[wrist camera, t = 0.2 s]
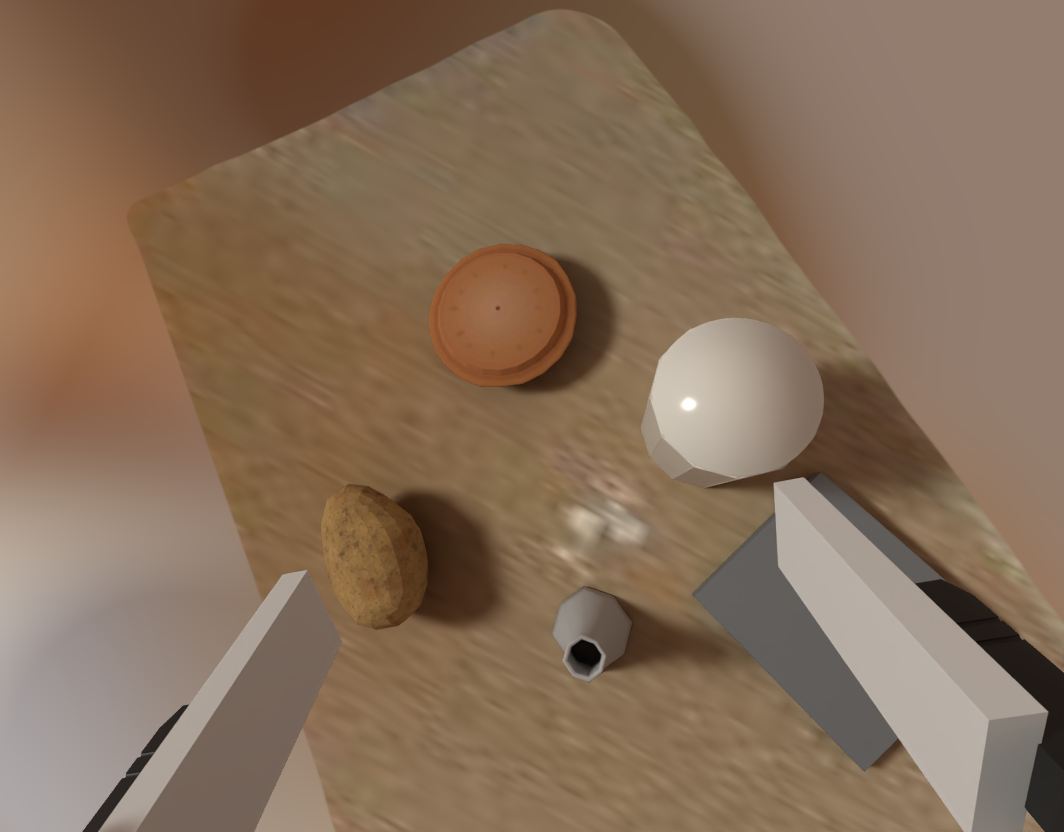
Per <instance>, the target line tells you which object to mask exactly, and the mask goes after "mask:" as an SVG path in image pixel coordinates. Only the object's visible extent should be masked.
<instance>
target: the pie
mask: <svg viewBox="0 0 1064 832" xmlns="http://www.w3.org/2000/svg"><path fill="white" fill-rule="evenodd" d="M576 320H577V305H576V295H575V292H574V290H573V288H572V285H571V283H570V280H569V278H568V276H567V275H566V273H565V272H564V270H563V269H562V267H561V266H560V265H559V263H558V262H557V260H555V259H553V258H552V257H550V256H548V255H547V254H545V253H543V252H542V251H540V250H537V249H533V248H530V247H526V246H523V245H511V244H498V245H494V246H489V247H485V248H481V249H479V250H477V251H475V252H473V253H471V254H470V255H468V256H466V257H464V258H463V259H461V260H460V261H459V262H458V263H457V264H456V265H455V266H454V267H453V268H452V269H451V270H450V271H449V272H448V273H447V275H446V276H445V277H444V279H443V280H442V282H441V283H440V285H439V286H438V288H437V289H436V291H435V294H434V297H433V301H432V304H431V308H430V333H431V337H432V341H433V345H434V349H435V350H436V352H437V353H438V355H439V356H440V358H441V359H442V361H443V362H444V364H445V365H446V366H447V367H448V368H449V369H450V370H452V371H453V372H454V373H455V374H456V375H457V376H459V377H460V378H461V379H463V380H465V381H468V382H470V383H473V384H475V385H478V386H480V387H503V386H510V385H517V384H524V383H526V382H528V381H530V380H532V379H534V378H536V377H537V376H539V375H541V374H543V373H545V372H546V371H547V370H548V369H549V368H550V367H551V366H552V365H553V364H554V363H555V362H557V361H558V360H559V359H560V358H561V356H562V355H563V353H564V352H565V350H566V348H567V347H568V345H569V343H570V342H571V340H572V338H573V334H574V329H575V325H576Z"/></svg>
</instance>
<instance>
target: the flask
mask: <svg viewBox="0 0 1064 832" xmlns="http://www.w3.org/2000/svg"><path fill="white" fill-rule="evenodd" d="M631 626H632V621H631V620H630V619H629V617H628V616H627V614H626V613H625V612H624V610H623V609H622V607H621V606H620V605H619V603H618V602H617V600H616V599H615V598H614V596H612V595H609V594H606V593H603V592H600V591H597V590H594V589H591V588H589V587H586V586H583V587H582V588H581V589H579V590H578V591H577V592H575V593H574V594H573V595H571V596H570V597H569V598H567V599H566V600H565V601H563V602H562V603H561V604H560V606H559V610H558V613H557V617H556V620H555V624H554V628H553V631H552V635H553V636H554V638H555V639H556V641H557V642H558V644H559V645H560V647H561V648H562V650H563V651H564V653H565V654H564V658H563V662H564V664H565V665H566V667H567V668H568V670H569V672H570V673H571V675H572V676H573V677H576V678H578V679H581V680H583V681H586V682H591V681H592V680H593V679H595V678H596V677H597V676H599V675H600V674H601V673H603V669H604V668H606V667H607V666H608V665H610V664H611V663H613V662H614V661H615V660H617V659H618V658H619V657H621V656H622V655H623V654H624V653H625V649H626V645H627V642H628V638H629V634H630V630H631Z"/></svg>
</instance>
